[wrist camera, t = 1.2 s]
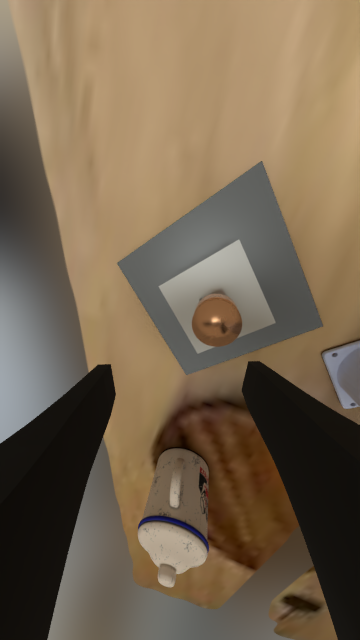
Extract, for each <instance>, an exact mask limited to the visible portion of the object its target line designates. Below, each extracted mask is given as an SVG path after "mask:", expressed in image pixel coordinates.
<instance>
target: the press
mask: <svg viewBox="0 0 360 640" xmlns="http://www.w3.org/2000/svg"><path fill="white" fill-rule="evenodd" d="M117 264H118V266H119V267H120V269H121V270H122V272H123V274H124V275H125V277H126V278H127V280H128V282H129V283H130V285H131V287H132V288H133V290H134V291H135V293H136V295H137V296H138V298H139V299H140V301H141V303H142V304H143V306H144V308H145V309H146V311H147V312H148V314H149V316H150V317H151V319H152V320H153V322H154V324H155V325H156V327H157V329H158V330H159V332H160V333H161V335H162V337H163V338H164V340H165V341H166V343H167V345H168V346H169V348H170V349H171V351H172V353H173V354H174V356H175V358H176V359H177V361H178V362H179V364H180V366H181V367H182V369H183V370H184V372H185V374H186V375H188V374H191V373H194V372H196V371H199V370H202V369H205V368H208V367H210V366H213V365H216V364H219V363H222V362H224V361H227V360H230V359H233V358H236V357H238V356H241V355H244V354H247V353H249V352H252V351H255V350H258V349H261V348H263V347H266V346H269V345H272V344H275V343H277V342H280V341H283V340H286V339H289V338H291V337H294V336H297V335H300V334H303V333H305V332H308V331H311V330H314V329H317V328H319V327H322V326H323V324H322V321H321V319H320V316H319V313H318V311H317V308H316V305H315V303H314V300H313V297H312V294H311V292H310V289H309V286H308V284H307V281H306V278H305V276H304V273H303V270H302V268H301V265H300V262H299V259H298V257H297V254H296V251H295V249H294V246H293V243H292V241H291V238H290V235H289V232H288V230H287V227H286V224H285V222H284V219H283V216H282V214H281V211H280V208H279V206H278V203H277V200H276V197H275V195H274V192H273V189H272V187H271V184H270V181H269V179H268V176H267V173H266V170H265V168H264V165H263V162H262V161H261V162H260V163H258V164H257V165H255V166H254V167H253V168H251V169H250V170H248V171H247V172H245V173H244V174H243V175H241V176H240V177H238V178H237V179H235V180H234V181H233V182H231V183H230V184H228V185H227V186H226V187H224V188H223V189H221V190H220V191H218V192H217V193H216V194H214V195H213V196H211V197H210V198H209V199H207V200H206V201H204V202H203V203H201V204H200V205H199V206H197V207H196V208H194V209H193V210H192V211H190V212H189V213H187V214H186V215H184V216H183V217H182V218H180V219H179V220H177V221H176V222H175V223H173V224H172V225H170V226H169V227H167V228H166V229H165V230H163V231H162V232H160V233H159V234H158V235H156V236H155V237H153V238H152V239H150V240H149V241H148V242H146V243H145V244H143V245H142V246H141V247H139V248H138V249H136V250H135V251H133V252H132V253H131V254H129V255H128V256H126V257H125V258H124V259H122V260H121V261H119V262H118V263H117ZM220 288H222V289H223V291H224V293H225V295H226V296H228V297H230V298H231V299H232V300H233V301H234V303H235V304H236V306H237V309H238V311H239V313H240V315H241V318H242V330H241V332H240V334H239V336H238V337H237V338H236V339H235V340H234V341H233V342H232V343H230V344H228V345H225V346H221V347H213V346H208V345H206V344H204V343H202V342H201V341H200V340H199V339H198V338H197V337H196V336H195V334H194V332H193V330H192V318H193V315H194V312H195V309H196V307H197V304H198V303H199V301H200V300H201V299H200V298H202V297H204V296H206V295H208V294H210V293H212V292H214V291H216V290H218V289H220Z"/></svg>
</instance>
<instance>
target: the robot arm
mask: <svg viewBox="0 0 360 640" xmlns="http://www.w3.org/2000/svg"><path fill="white" fill-rule="evenodd" d="M333 353H335V354H334V355H332V354H333ZM322 357H323V360H324V363H325V365H326V368H327V370H328V373H329V375H330V378H331V380H332V383H333V386H334V388H335V391H336V393H337V396H338V398H339V401H340V404H341V405H342V406H343V408H346V409H350V408H354V407H360V340H359V341H356V342H353V343H350V344H347V345H344V346H340V347H337V348H334V349H331V350H328V351H325V352H323V354H322ZM242 393H243V396H244V399H245V401H246V404H247V407H248V409H249V411H250V414H251V416H252V418H253V420H254V422H255V424H256V426H257V428H258V430H259V432H260V434H261V436H262V438H263V440H264V442H265V444H266V446H267V448H268V450H269V452H270V454H271V456H272V458H273V460H274V462H275V464H276V467H277V469H278V471H279V474H280V476H281V479H282V481H283V484H284V486H285V489H286V491H287V494H288V496H289V499H290V501H291V504H292V507H293V509H294V512H295V515H296V517H297V520H298V523H299V525H300V528H301V531H302V533H303V536H304V539H305V542H306V545H307V548H308V550H309V553H310V556H311V558H312V561H313V564H314V567H315V570H316V573H317V576H318V579H319V582H320V585H321V588H322V591H323V594H324V597H325V600H326V603H327V606H328V609H329V612H330V615H331V619H332V622H333V625H334V628H335V631H336V635H337V638H338V640H360V425H358V424H357V423H355V422H353V421H351V420H350V419H348V418H346V417H344V416H342V415H341V414H339V413H337V412H336V411H334V410H332V409H331V408H329V407H327V406H326V405H324V404H323V403H321V402H319V401H318V400H316V399H315V398H313V397H311V396H310V395H308V394H307V393H305V392H304V391H302V390H301V389H299V388H298V387H296V386H295V385H293V384H292V383H291V382H289V381H288V380H286V379H285V378H283V377H282V376H280V375H279V374H278V373H276V372H275V371H273V370H272V369H270V368H269V367H267V366H266V365H264V364H263V363H261V362H260V361H251V362H248V365H247V369H246V374H245V378H244V382H243V386H242ZM115 395H116V393H115V387H114V381H113V375H112V369H111V364H105V365H97V366H96V367H95V368H94V369H93V370H92V371H90V372H89V373H88V374H87V375H86V376H85V377H84V378H83V379H82V380H80V381H79V382H78V383H77V384H76V385H75V386H74V387H72V388H71V389H70V390H69V391H68V392H67V393H66V394H64V395H63V396H62V397H61V398H60V399H58V400H57V401H56V402H55V403H54V404H52V405H51V406H50V407H48V408H47V409H46V410H45V411H44V412H42V413H41V414H40V415H39V416H37V417H36V418H35V419H34V420H32V421H31V422H30V423H28V424H27V425H26V426H24V427H23V428H21V429H20V430H19V431H17V432H16V433H15V434H13V435H12V436H10V437H9V438H8V439H6V440H5V441H3V442H2V443H0V640H47V638H48V634H49V630H50V625H51V621H52V617H53V612H54V608H55V604H56V599H57V595H58V591H59V587H60V583H61V579H62V575H63V571H64V567H65V563H66V559H67V554H68V551H69V547H70V543H71V539H72V535H73V531H74V528H75V524H76V520H77V516H78V513H79V509H80V505H81V502H82V498H83V495H84V491H85V487H86V484H87V480H88V477H89V474H90V471H91V468H92V465H93V463H94V460H95V457H96V454H97V452H98V449H99V446H100V444H101V441H102V438H103V435H104V433H105V430H106V427H107V424H108V421H109V419H110V416H111V412H112V408H113V404H114V400H115Z"/></svg>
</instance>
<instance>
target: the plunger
mask: <svg viewBox="0 0 360 640" xmlns="http://www.w3.org/2000/svg"><path fill="white" fill-rule="evenodd" d="M200 299H201V300H200V301H199V303H198V304H197V307H196V309H195V312H194V315H193V318H192V330H193V332H194V334H195V336H196V337H197V338H198V339H199V340H200V341H201V342H202V343H204V344H206V345H208V346H213V347H221V346H225V345H228V344H230V343H232V342H233V341H234V340H235V339H236V338H237V337H238V336H239V334H240V332H241V330H242V318H241V315H240V313H239V311H238V309H237V306H236V304H235V303H234V301H233V300H232V299H231V298H230V297H228V296H226V295H225V293H224V291H223V289H222V288H220V289H218V290H216V291H214V292H212V293H210V294H208V295H206V296H204V297H202V298H200Z"/></svg>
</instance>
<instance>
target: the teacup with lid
mask: <svg viewBox="0 0 360 640" xmlns="http://www.w3.org/2000/svg"><path fill="white" fill-rule="evenodd" d="M208 478H209V470H208V466H207V464H206V463H205V461H204V460H203V459H202V458H201V457H200V456H199V455H197V454H196V453H194V452H192V451H189V450H186V449H181V448H173V449H169V450H166V451H164V452H163V453H162V454H161V455H160V457H159V460H158V464H157V467H156V471H155V475H154V478H153V482H152V485H151V489H150V493H149V496H148V500H147V504H146V507H145V511H144V515H143V518H142V520H141V521H140V523H139V526H138V538H139V542H140V544H141V545H142V547H143V548H144V549H145V550H146V551H147V552H148V553H149V554H150V556H151V558H152V560H153V562H154V563H155V564H156V565H157V566H158V567H159V571H158V581H159V582H160V583H161V584H162V585H164V586H166V587H173V586H174V584H175V580H176V574H180V573H183V572H185V571H186V570H188V569H189V568H190V567H197V566H200V565H202V564H203V563H204V562H205V560H206V558H207V555H208V551H209V545H208V542H207V518H208Z"/></svg>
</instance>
